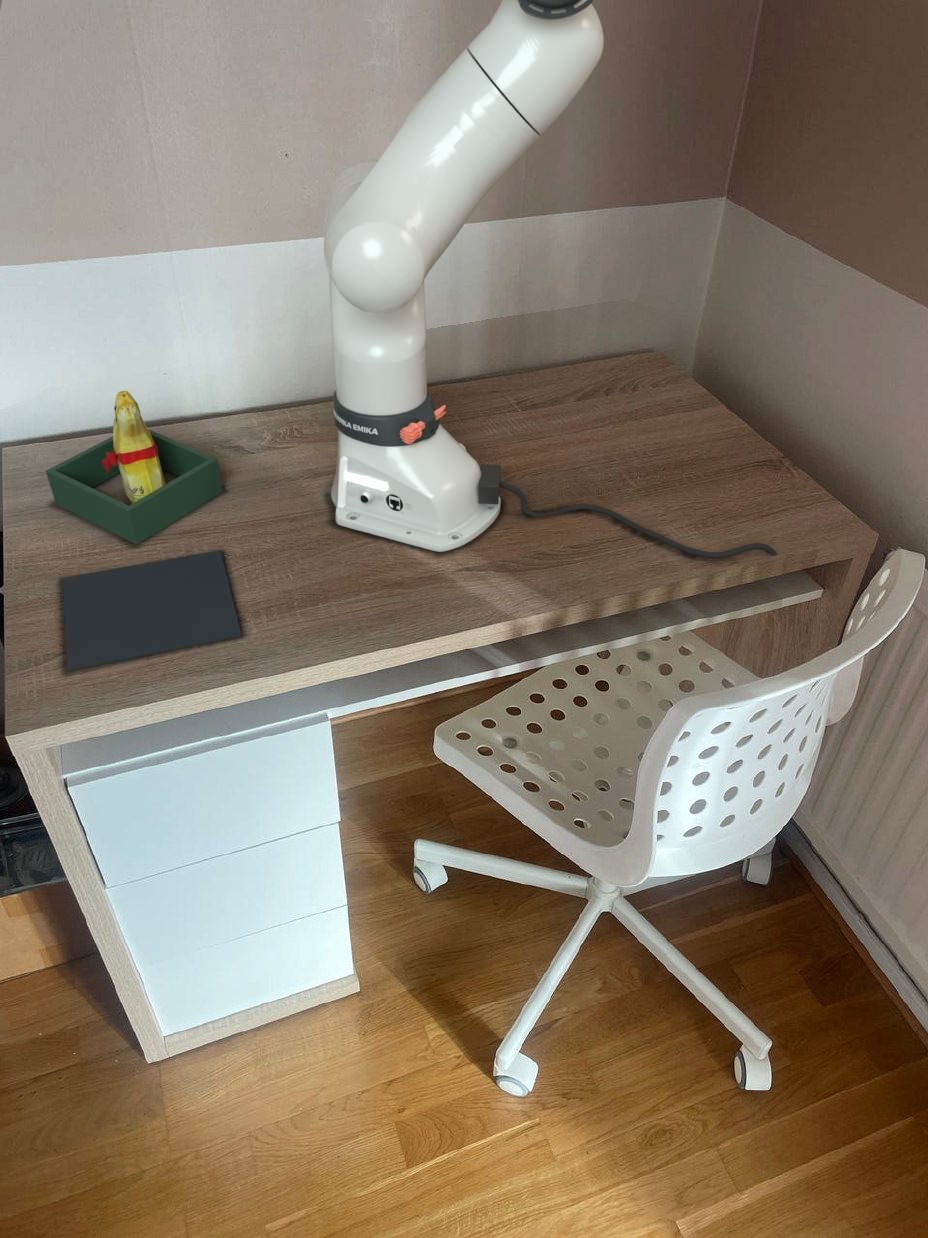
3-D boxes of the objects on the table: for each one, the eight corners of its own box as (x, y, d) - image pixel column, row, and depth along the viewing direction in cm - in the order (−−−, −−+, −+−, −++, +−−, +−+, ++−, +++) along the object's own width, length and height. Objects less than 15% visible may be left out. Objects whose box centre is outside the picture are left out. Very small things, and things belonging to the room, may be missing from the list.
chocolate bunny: (158, 471, 131) (135, 367, 121) (176, 513, 123) (153, 406, 114) (105, 482, 129) (78, 377, 119) (121, 526, 121) (93, 418, 111)
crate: (223, 491, 127) (217, 458, 124) (136, 545, 118) (128, 510, 115) (143, 456, 134) (136, 423, 131) (55, 504, 125) (45, 470, 121)
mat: (221, 552, 117) (220, 550, 117) (242, 636, 106) (241, 633, 106) (63, 580, 113) (63, 578, 112) (67, 671, 101) (66, 668, 101)
